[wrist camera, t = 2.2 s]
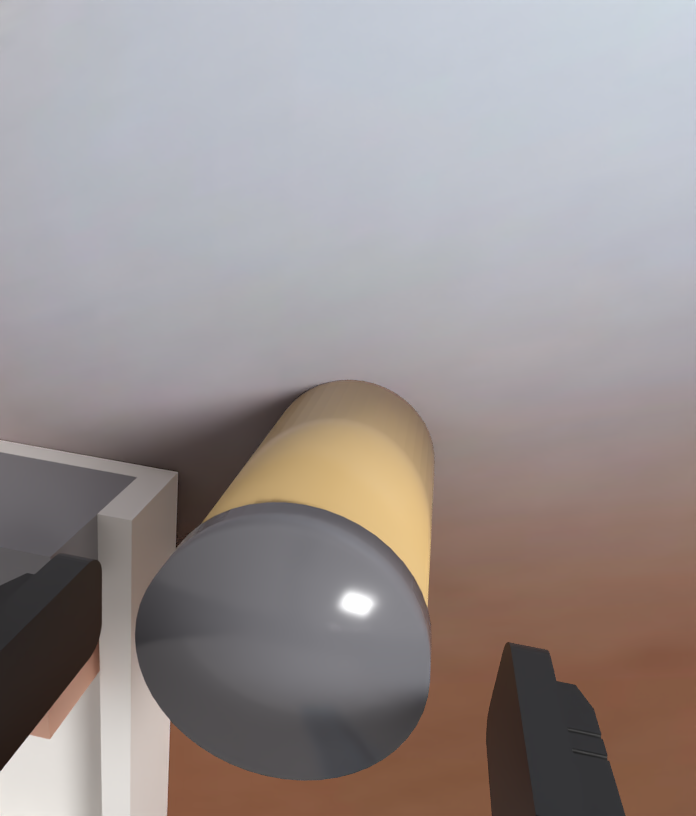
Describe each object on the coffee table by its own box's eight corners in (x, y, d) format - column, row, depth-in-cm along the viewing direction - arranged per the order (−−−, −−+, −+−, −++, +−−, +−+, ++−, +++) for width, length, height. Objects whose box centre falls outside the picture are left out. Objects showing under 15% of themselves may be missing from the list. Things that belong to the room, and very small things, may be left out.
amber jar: (276, 363, 19) (135, 504, 10) (452, 392, 18) (455, 564, 10) (263, 517, 20) (134, 745, 12) (422, 547, 20) (404, 807, 12)
